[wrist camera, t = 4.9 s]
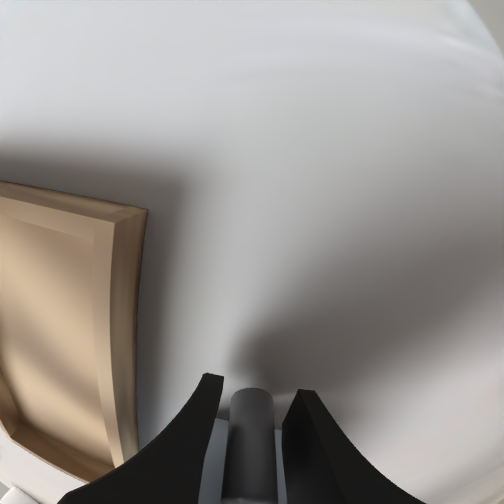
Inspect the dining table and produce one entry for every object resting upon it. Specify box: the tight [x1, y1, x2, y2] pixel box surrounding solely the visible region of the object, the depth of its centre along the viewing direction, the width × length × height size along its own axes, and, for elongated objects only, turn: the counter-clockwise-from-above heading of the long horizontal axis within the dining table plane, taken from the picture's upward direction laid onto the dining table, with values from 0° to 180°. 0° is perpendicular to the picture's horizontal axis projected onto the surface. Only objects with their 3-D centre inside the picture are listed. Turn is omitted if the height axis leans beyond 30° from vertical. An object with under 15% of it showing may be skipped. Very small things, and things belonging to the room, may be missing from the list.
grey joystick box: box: [198, 388, 287, 504], centre depth 9 cm, size 10×4×6 cm, turn 164°
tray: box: [0, 181, 148, 484], centre depth 10 cm, size 17×10×2 cm, turn 167°
